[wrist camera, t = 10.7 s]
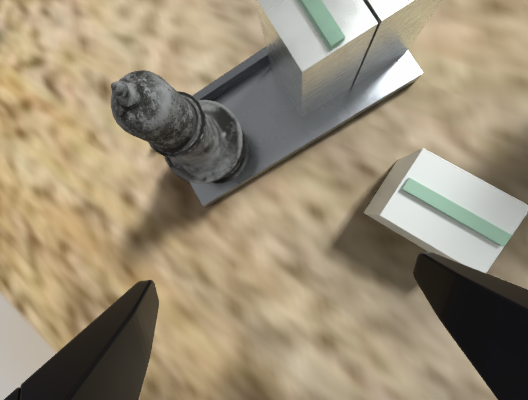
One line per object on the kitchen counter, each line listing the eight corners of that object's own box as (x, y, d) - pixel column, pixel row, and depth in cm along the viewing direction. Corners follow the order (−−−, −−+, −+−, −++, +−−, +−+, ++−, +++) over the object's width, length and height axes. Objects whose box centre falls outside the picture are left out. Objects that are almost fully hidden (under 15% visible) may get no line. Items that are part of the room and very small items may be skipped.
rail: (416, 80, 20) (498, -9, 12) (207, 206, 22) (152, 206, 14) (362, 1, 21) (404, -136, 13) (166, 130, 23) (89, 87, 15)
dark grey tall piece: (175, 173, 22) (23, 136, 10) (198, 108, 22) (72, -11, 10) (238, 197, 21) (155, 186, 9) (262, 129, 21) (211, 27, 9)
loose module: (479, 206, 20) (536, 206, 15) (442, 260, 20) (487, 278, 15) (396, 160, 20) (425, 147, 16) (362, 212, 21) (381, 215, 16)
